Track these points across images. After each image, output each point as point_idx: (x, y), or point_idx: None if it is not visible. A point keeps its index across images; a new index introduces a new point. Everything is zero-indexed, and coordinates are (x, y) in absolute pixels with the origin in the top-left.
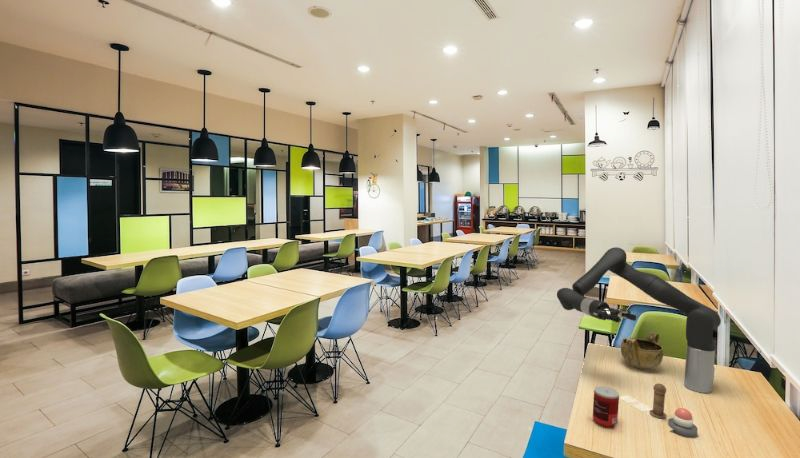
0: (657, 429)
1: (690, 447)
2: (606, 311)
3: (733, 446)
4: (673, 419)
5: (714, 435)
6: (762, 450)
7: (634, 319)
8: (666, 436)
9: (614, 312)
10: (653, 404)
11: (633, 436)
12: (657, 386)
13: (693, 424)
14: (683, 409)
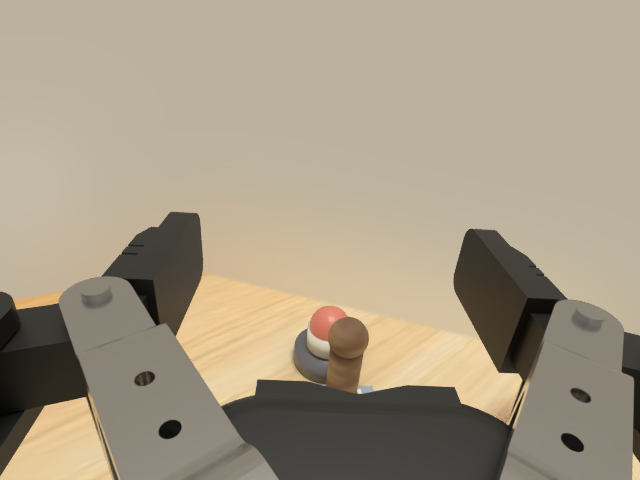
0: (390, 380)
1: (372, 322)
2: (629, 383)
3: (277, 301)
4: (327, 366)
5: (269, 327)
6: (237, 283)
7: (201, 258)
8: (392, 356)
9: (345, 397)
10: (356, 389)
11: (483, 380)
12: (364, 327)
13: (297, 339)
14: (335, 310)
